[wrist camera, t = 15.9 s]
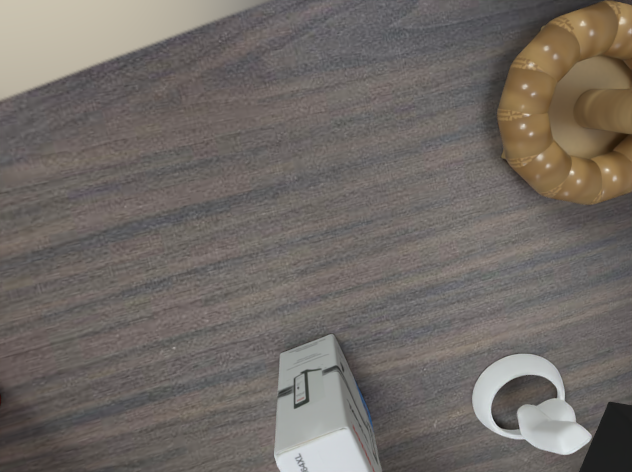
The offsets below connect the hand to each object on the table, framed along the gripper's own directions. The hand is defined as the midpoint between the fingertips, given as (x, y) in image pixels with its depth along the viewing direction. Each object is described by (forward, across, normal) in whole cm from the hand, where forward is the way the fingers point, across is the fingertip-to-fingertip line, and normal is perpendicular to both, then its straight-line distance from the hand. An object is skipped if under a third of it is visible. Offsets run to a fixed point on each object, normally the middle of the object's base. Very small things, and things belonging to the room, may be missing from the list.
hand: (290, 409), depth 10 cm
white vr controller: (+27, +22, -14) cm, 37 cm away
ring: (+24, +18, +9) cm, 31 cm away
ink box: (+27, +6, -16) cm, 32 cm away
